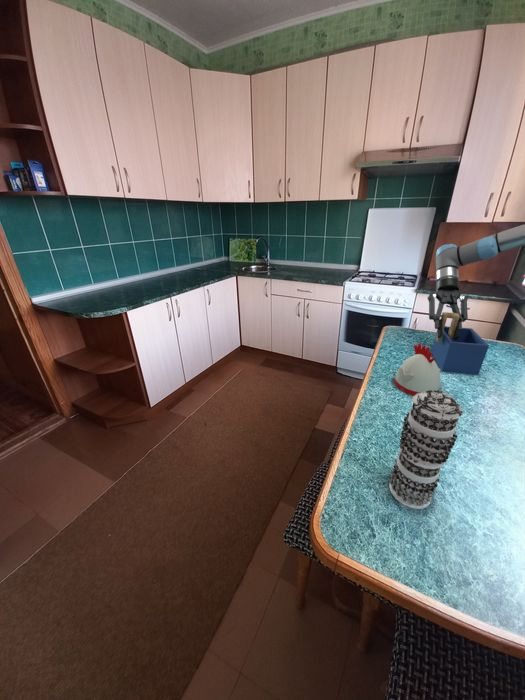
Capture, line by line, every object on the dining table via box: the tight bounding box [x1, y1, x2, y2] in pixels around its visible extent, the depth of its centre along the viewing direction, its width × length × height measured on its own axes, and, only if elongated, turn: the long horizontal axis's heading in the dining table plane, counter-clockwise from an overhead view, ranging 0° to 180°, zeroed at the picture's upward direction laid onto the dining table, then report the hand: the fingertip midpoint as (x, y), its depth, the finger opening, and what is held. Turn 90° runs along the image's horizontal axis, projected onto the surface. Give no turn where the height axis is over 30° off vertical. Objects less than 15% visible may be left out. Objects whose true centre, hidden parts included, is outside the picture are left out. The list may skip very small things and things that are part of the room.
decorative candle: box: [388, 390, 463, 510], centre depth 58 cm, size 9×9×25 cm
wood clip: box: [434, 311, 460, 342], centre depth 108 cm, size 5×3×11 cm, turn 75°
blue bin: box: [430, 326, 490, 376], centre depth 111 cm, size 16×12×12 cm
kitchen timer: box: [393, 343, 442, 396], centre depth 97 cm, size 14×14×15 cm
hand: (448, 337), depth 106 cm, fingers closed on wood clip, 5 cm apart
